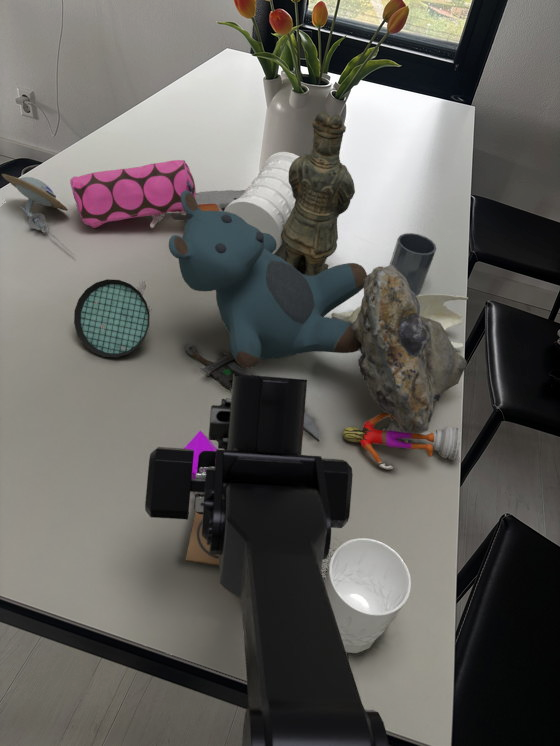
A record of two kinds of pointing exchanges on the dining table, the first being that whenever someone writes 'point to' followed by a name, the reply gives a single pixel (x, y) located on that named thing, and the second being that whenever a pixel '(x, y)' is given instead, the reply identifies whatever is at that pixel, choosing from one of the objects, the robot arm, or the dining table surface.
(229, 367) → the sword
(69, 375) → the dining table surface
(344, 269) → the stuffed animal
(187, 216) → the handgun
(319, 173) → the statue
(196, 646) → the dining table surface
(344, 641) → the white cup
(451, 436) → the chess piece
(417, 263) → the pencil cup
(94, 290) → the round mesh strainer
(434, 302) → the clam shell
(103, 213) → the pencil case
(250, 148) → the dining table surface
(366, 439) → the toy figure
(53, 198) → the toy
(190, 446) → the crystal
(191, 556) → the square wooden coaster
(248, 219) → the decorative container
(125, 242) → the dining table surface
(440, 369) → the rock
